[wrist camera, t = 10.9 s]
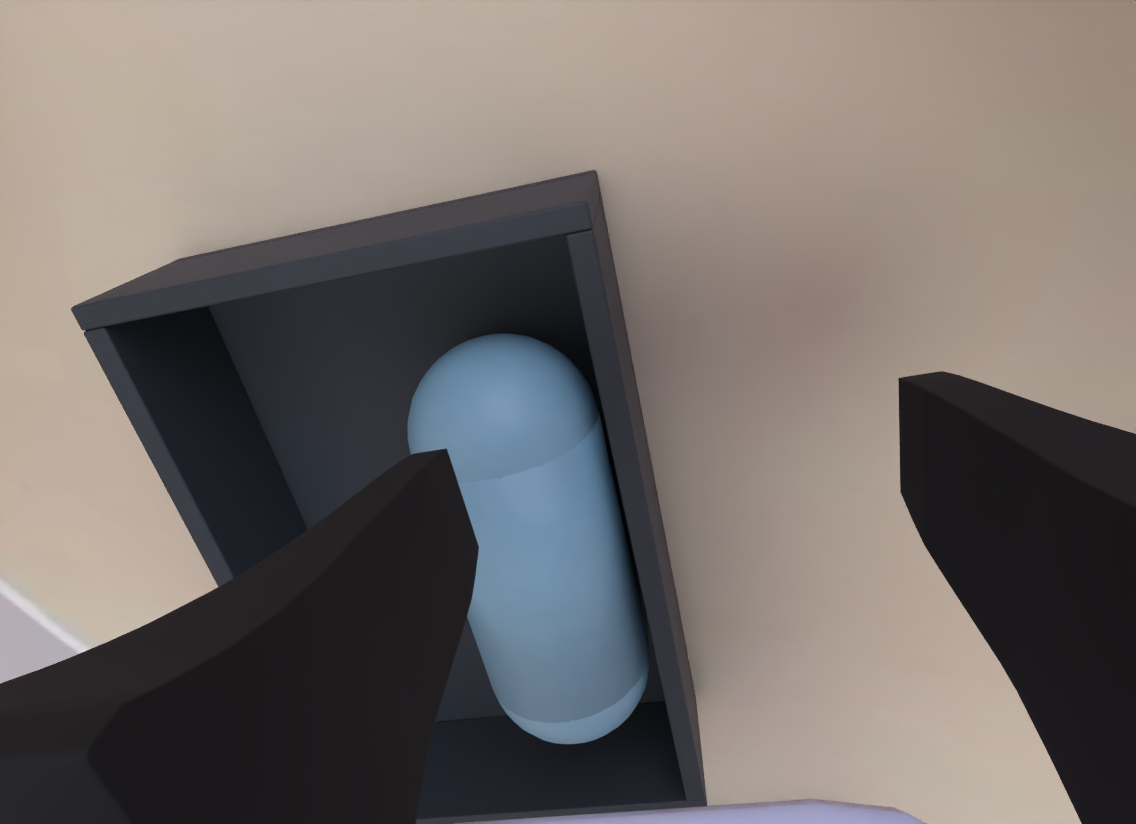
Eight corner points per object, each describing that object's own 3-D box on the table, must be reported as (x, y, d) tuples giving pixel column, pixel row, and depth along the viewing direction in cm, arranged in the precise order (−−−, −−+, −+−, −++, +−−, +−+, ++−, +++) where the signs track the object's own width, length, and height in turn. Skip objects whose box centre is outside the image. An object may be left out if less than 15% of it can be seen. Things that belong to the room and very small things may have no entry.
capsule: (561, 640, 26) (686, 676, 24) (479, 749, 23) (616, 807, 20) (465, 306, 21) (615, 303, 18) (338, 380, 17) (500, 390, 14)
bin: (695, 698, 27) (708, 812, 23) (389, 726, 29) (350, 836, 24) (596, 169, 18) (587, 200, 14) (178, 258, 20) (68, 308, 16)
